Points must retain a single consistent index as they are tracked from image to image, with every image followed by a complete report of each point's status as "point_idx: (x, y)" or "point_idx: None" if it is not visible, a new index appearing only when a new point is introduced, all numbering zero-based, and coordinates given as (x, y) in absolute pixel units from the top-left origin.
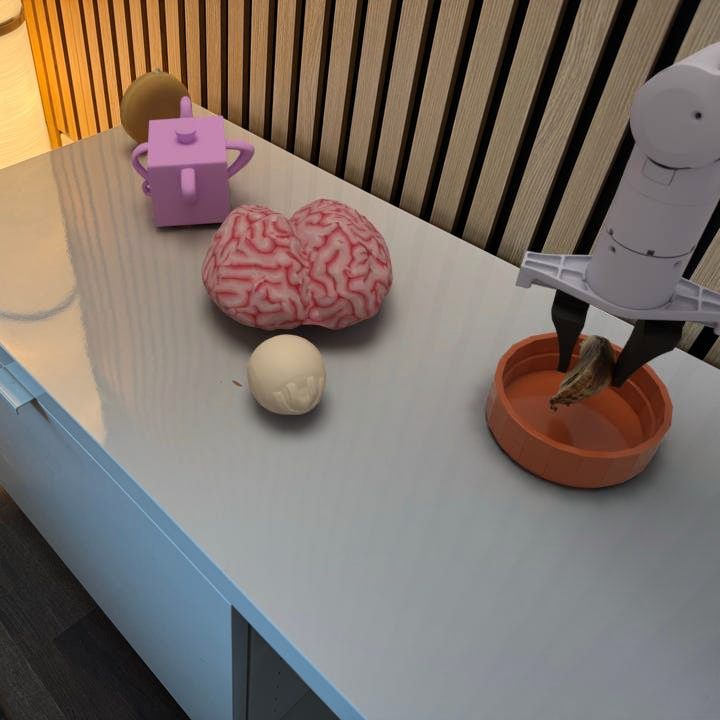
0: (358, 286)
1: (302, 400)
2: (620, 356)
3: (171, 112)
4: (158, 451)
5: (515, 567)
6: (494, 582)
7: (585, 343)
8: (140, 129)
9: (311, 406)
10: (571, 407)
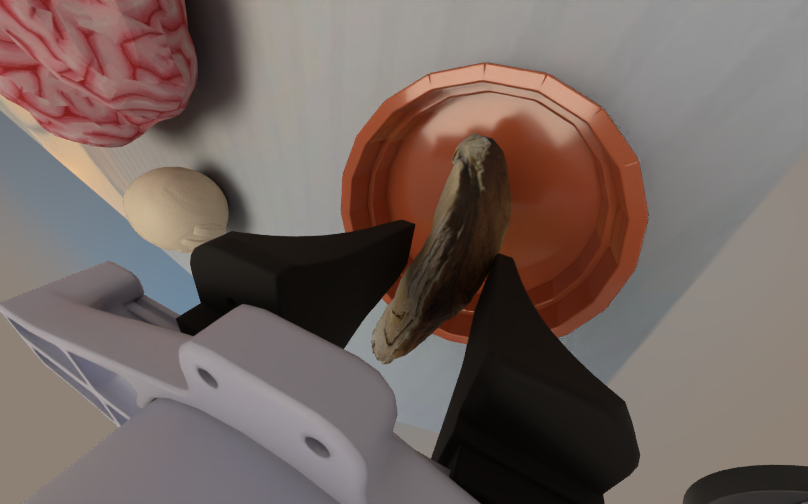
0: (108, 88)
1: None
2: (490, 277)
3: None
4: (184, 253)
5: (413, 357)
6: (399, 363)
7: (448, 185)
8: None
9: None
10: None
